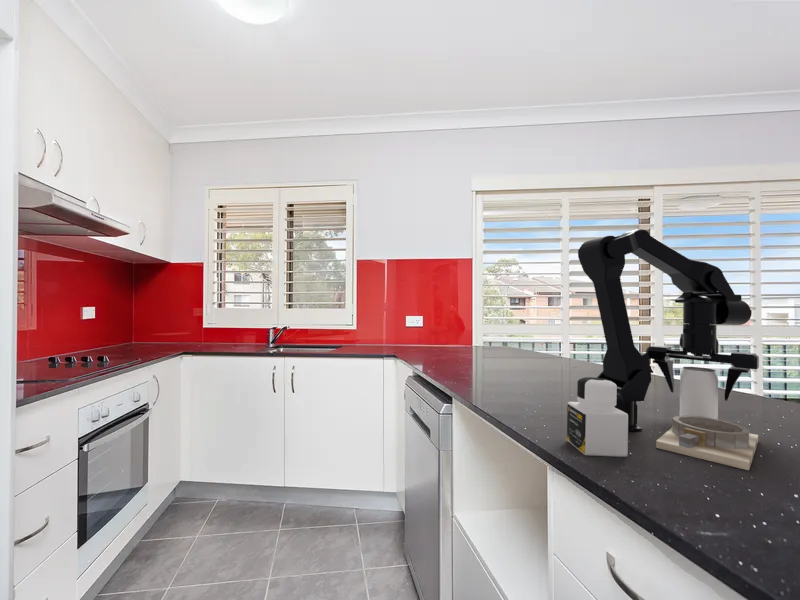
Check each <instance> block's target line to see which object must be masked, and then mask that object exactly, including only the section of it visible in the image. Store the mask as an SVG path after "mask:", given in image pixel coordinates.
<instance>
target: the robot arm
mask: <svg viewBox="0 0 800 600" xmlns="http://www.w3.org/2000/svg"><path fill="white" fill-rule="evenodd" d="M629 254H633V255H634V256H636V257H638V258H639V259H641V260H642V261H644V262H646V263H648V264H649V265H650V266H653V267H654V268H657V269H658V270H659V271H661V272H663V273H664V274H667V276H668V277H669V278H670V279H671V283H672V284H673V285H674V286H675V287H676V288H677V289H679V291H681V292H682V294H681V295H680V296H678V297H677V298H675V300H674V302H675V303H678V304H683V305H682V310H683V311H682V312H683V313H682V317H683V318H682V333H681V334H680V336H679V337H680V338H679V347H680V348H681V349H682V350H678V349H676V350H675V349H672V346H664V345H650V346H648V347H647V348H646V350H645V352H643V351H639V350H638V349H637V347H636V345H635V344H634V339H633V333H632V329H631V325H630V319H629V315H628V314H629V313H628V309H627V304H626V301H625V296H624V295H625V294H624V290H623V287H622V282H621V276H622V273H623V272H624V271H623V270H624V268H625V265H626V255H629ZM577 257H578V260H579V263H580V265H581V268H582V270H583V272H584V273H585V274H586V276H587V277H588V278H589V280H591V282H592V284H593V287H594V288H593V289H594V291H595V292H594V293H595V297H596V302H597V305H598V311H599V316H600V319H601V325H602V329H603V334H604V339H605V343H606V350H605V354H604V356H603V359H602V372H601V373H600V374H598V376H597V377H596V378H602V379H607V380H610V381H612V382H614V383H615V384H616V385H617V401H616V406H614V407H615V408H617V409H619V410H621V411H623V412H625V413H627V414H628V432H632V431H634V432H635V431H643V427H642V426H639V425H638V404H637V402H644V401H645V398H646V396H647V393H648V389H649V386H650V384H651V383H652V374H653V373H654V371H653V369H652V366H651V361H650V360H651V359H652V363H653V364H657V365H658V368H659V369H660V371H661V373H662V374H663V376H664V378H665V381H666V382H667V385H668V388H669V391H670V392H671V393H673V394H674V393H675V378H674V368H673V367H674V359H681V360H689V361H690V360H691V361H702V362H710V363H721V364H730V367H728V369H727V376H726V382H725V390H724V401H725V402H727V401H729V399H730V396H731V394H732V392H733V390H734V386H735V385H736V383H737V381H738V380H739V377H740V376H741V375H742V374H743V373H744V374H745V373H746V374H749V373H750V372H751V370H758V369H759V367H760V356H759V355H757V353H753V352H752V353H751V352H741V351H733V352H731V353H730V354H726V353H725V354H724V353H722V354H721V353H719V342H720V341H719V340H718V338H717V325H718V326H741V325H742V326H743V325H745V324H746V323H748V322H749V320H751V317H752V311H753V310H752V309H751V308H750V305H749V304H748V303H747V302H746V301H744V300H742V294H735V292H734V290H733V288H732V287H731V285H730V284H729V282H728V280H727V278H726V277H725V276H724V273H723V271H722V269H720V267H718V266H716V265H713V264H711V263H709V262H705V261H700V260H694V259H690V258H688V257H686V256H685V255H683V254H681V253H680V252H678V251H677V250H675V249H673V248H672V247H670V246H668V244H665V243H663V242H662V241H660V240H659V239H657V238H656V237H654V236H652V235H651V233H650V232H649V231H648V230H647V229H642V228H641V229H639V228H638V229H634V230H630V231H626V232H623V233H622V234H619V235H617V236H614V235H606V236H605V235H604V236H602V237H598V238H594V239H593V238H592V239H590V240H587V241H584V242H583V243H582V244H581V245H580V247H579V248H578V250H577ZM688 353H690V354H691V355H690V354H688Z"/></svg>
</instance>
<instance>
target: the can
mask: <svg viewBox="0 0 800 600" xmlns="http://www.w3.org/2000/svg"><path fill="white" fill-rule="evenodd" d="M679 375H680V377H679V381H680V382H679V416H697V417H699V416H700V417H707V418H712V419H717V420H719V417H718V416H719V414H718V413H719V377H718V375H717V372H716V369H712V368H705V367H699V366H683V367H682V371H681V373H680V374H679Z"/></svg>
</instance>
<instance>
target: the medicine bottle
mask: <svg viewBox="0 0 800 600" xmlns="http://www.w3.org/2000/svg"><path fill="white" fill-rule="evenodd" d="M576 383H577V389H576V391H577V392H576V394H577V395H576V397H577V398H576V401H568V402H567V408H566V409H567V413H566V414H567V416H566V417H567V419H566V441H567V442H568V443H569V444H571V445H572V446H573V447H574V448H575V449H577V450H578V451H579V452H581V454H582V455H584V456H591V457H592V456H593V457H594V456H595V457H596V456H597V457H617V458H627V457H628V450H629V449H628V448H629V443H628V442H629V431H628V414H627V413H625V412H623V411H621V410H619V409H617V408H615V407H614V406H616V401H617V388H618V387H617V385H616V384H615V383H614V382H612V381H610V380H607V379H602V378H597V377H591V376H590V377H589V376H586V377H581V378H579V379H578V380H577V382H576Z"/></svg>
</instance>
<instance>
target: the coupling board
mask: <svg viewBox="0 0 800 600" xmlns="http://www.w3.org/2000/svg"><path fill="white" fill-rule="evenodd" d="M671 423H672V426H671V427H670V429H668V430H667V431H666V432H665V433H664V434H662V435H661V436H660V437H659V438H658V439H657V440H656V442H655V444H656V445H655V446H656V447H655V448H656V449H660V450H664V451H667V452H672V453H677V454H680V455H684V456H685V455H686V456H689V457H692V458H697V459H700V460H705V461H709V462H712V463H718V464H719V465H720V464H721V465H725V466H729V467H733V468H738V469H741V470H745V471H750V469H751V465H752V462H753V459H754V456H755V453H756V449H757V447H758V443H759V434H754V433H750V429H748V428H747V427H745V426H743V425H740V424H737V423H733V422H730V421H727V420H722V419H718V420H717V419H712V418H707V417H700V416H699V417H697V416H680V415H675V416H673V418H672V421H671Z"/></svg>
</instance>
